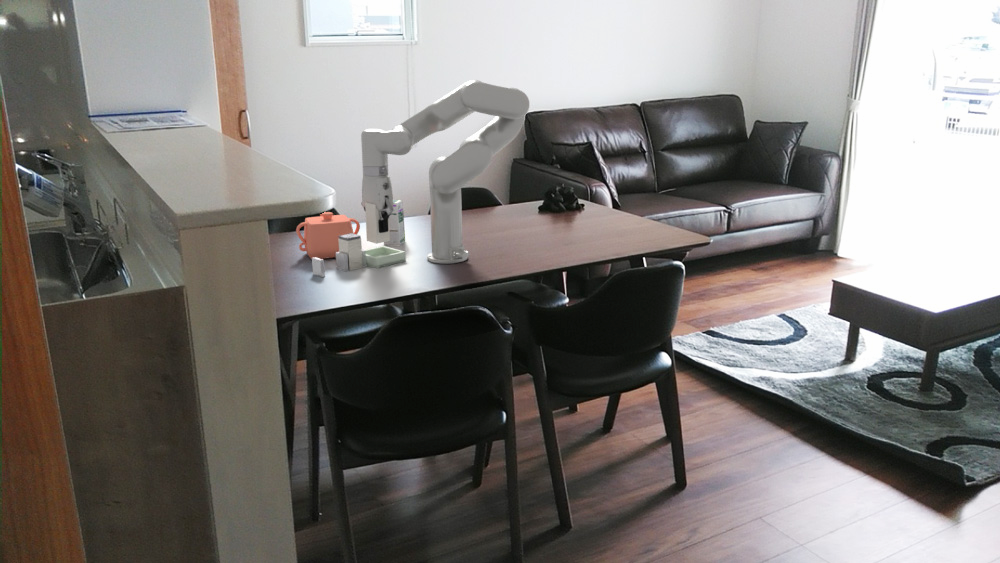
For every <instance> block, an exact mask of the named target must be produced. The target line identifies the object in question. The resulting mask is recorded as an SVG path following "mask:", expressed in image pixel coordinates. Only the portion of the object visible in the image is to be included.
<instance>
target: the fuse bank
mask: <svg viewBox="0 0 1000 563" xmlns="http://www.w3.org/2000/svg"><path fill="white" fill-rule="evenodd" d="M353 233H354V232H353ZM353 233H350V234H345V235H340V236H339V238H338V241H339V252H336V257H335V263H336V264H335V265H336V269H337V270H340V271H343V272H348V271H349V272H350V271H354V270H357V269H363V268H365V267H367V265H366V251H365V250H366V249H363V248H362V247H363V246H362V238H361V235H359V234H357V235H356V234H353ZM311 264H312V275H314V276H316V277H320V278H323V277H326V273H325V271H326V270H325V259H320V258H317V257H313V258H312V259H311Z"/></svg>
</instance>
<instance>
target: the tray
mask: <svg viewBox="0 0 1000 563" xmlns="http://www.w3.org/2000/svg"><path fill="white" fill-rule="evenodd" d="M364 250H365V251H366V266H367V267H368V266H369V267H372V268H375V269H381V268H384V267H388V266H391V265H395V264H400V263H404V262H407V258H406V256H407V255H406V254H407V253H406V251H403V250H402V249H397V248H393V247H389V246H387V245H381V246H380V245H379V246H376V247H371V248H368V249H364Z"/></svg>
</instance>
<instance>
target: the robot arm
mask: <svg viewBox="0 0 1000 563" xmlns="http://www.w3.org/2000/svg"><path fill="white" fill-rule="evenodd" d="M529 110H530V99H529V97H528V95H527V94H526V93H525V92H524V91H522V90H520V89H519V88H515V87H505V86H501V85H500V86H499V85H494V84H490V83H487V82H483V81H481V80H478V79H471V80H469V81H466V82H464V83H463V84H461V85H460V86H458V87H457V88H455V89H453V90H452V91H450V92H449V93H447V94H445V95H443V96H442V97H441V98H439V99H437V100H436V101H434V102H432V103H430V105H428V106H426V107H425V108H424V109H422V110H421V111H418V112H417V113H416V114H414V115H413V116H410V117H409V118H408V119H406V120H404V121H403V122H401V123H400V124H398V125H396V126H395V127H394V128H392V129H391V130H386V131H385V129H380V128H367V129H364V130H362V131H361V134H360V136H361V137H360V139H361V140H360V141H361V160H362V161H361V162H362V164H361V165H362V179H361V180H362V182H361V204H360V205H361V206H362V208H363V210H364V212H365V213H366V211H365V202H368V203H372V204H376V208H377V210H378V211H379V217H380V220H378V221H379V233H383V232H388V219H389V216H390V215H391V213H392V212H393V200H394V194H393V188H392V181H391V177H390V176H389V159H388V158H389V157H388V155H392V156H393V155H394V156H405V155H407V154H409V153H410V152H411V150H412V149H413V146H414V145H416V144H417V143H419V142H421V141H422V140H424V139H425V138H427V137H429V136H431V135H433V134H435V133H438V132H443V131H445V130H447V129H450V128H451V127H453V126H454V125H456V124H458V123H459V122H460V121H462V120H464V119H466V118H467V117H468V116H470V115H472V114H474V113H475V112H476V113H479V114H484V115H488V116H489V115H490V116H493V117H494V118H493V119H492V120H491V121H489V122H488V123H487V124H485V125H484V127H482V128H481V129H479V130H478V131H476V132H475V133H473V134H472V135H471V136H469V137H467V138H465V139H464V140H463V141H462V142H461V144H460V146H459V147H458V149H457V150H455V151H454V152H453V153H451V154H450V155H449V156H440V157H437V158H435V159H434V160H433V161H432V163H431V164H430V167H429V169H428V181H429V182H428V183H429V184H428V185H429V199H430V200H429V201H430V202H429V204H430V234H431V239H430V240H431V252H430V253H428V254H427V256H426V258H427V260H428V262H430V263H434V264H442V265H443V264H447V265H449V264H456V263H458V264H459V263H460V262H464V261H466V260H468V258H469V256H470V251H468V250H465V245H463V220H462V219H463V217H462V209H463V207H462V204H463V203H462V187H464V186H465V185H467V184H469V183H470V182H471V181H473V180H474V179H475V178H477V177H479V176H480V175H481V174H482V173H483V172H485V171H486V170H487V169H488V168H489V167H490V165H491V163H492V159H493V157H494V156H495V155H496V154H498V153H499V152H500V151H502V149H504V148H505V147H507V146H508V145H509V144H510V143H512V141H514V140H515V139H516V138H517V136H519V134H520V132H521V129H522V127H523V125H524V122H525V116H526V114H527V113H528V112H529ZM383 207H385V209H383ZM382 211H384V213H383V214H382Z"/></svg>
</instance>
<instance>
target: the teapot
mask: <svg viewBox="0 0 1000 563" xmlns="http://www.w3.org/2000/svg"><path fill="white" fill-rule="evenodd" d="M352 222H353V223H355V224H356V228H355V230H353V223H352ZM302 227H304V228H303V235H302V233H301V232H300V231H301V230H300V229H301V228H302ZM360 229H361V224H360V222H359V221H358V220H357V219H356V218H351V217H347V215H345V214H336V215H335V214H334V213H333V212H330V211H327V212H326V211H325V212H324V213H322V214H320V213H319V216H311V217H310V216H309V217H305V219H304V221H303V222H300V223H299V224H298V225H297V226H296V229H295V232H296V235H297V237H298V239H299V240H300V241H301V243H299V245H298V249H299V251H301V252H306V254H307V256H308V257H309V258H310V259H311V260H312V258H313V257H317V258H320V259H323V260H326V259H331V258H336V252H339V241H338V238H339V236H340V235H345V234H350V233H353V234H356V235H359V234H358V233H359V232H360ZM303 246H304V247H303Z"/></svg>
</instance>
